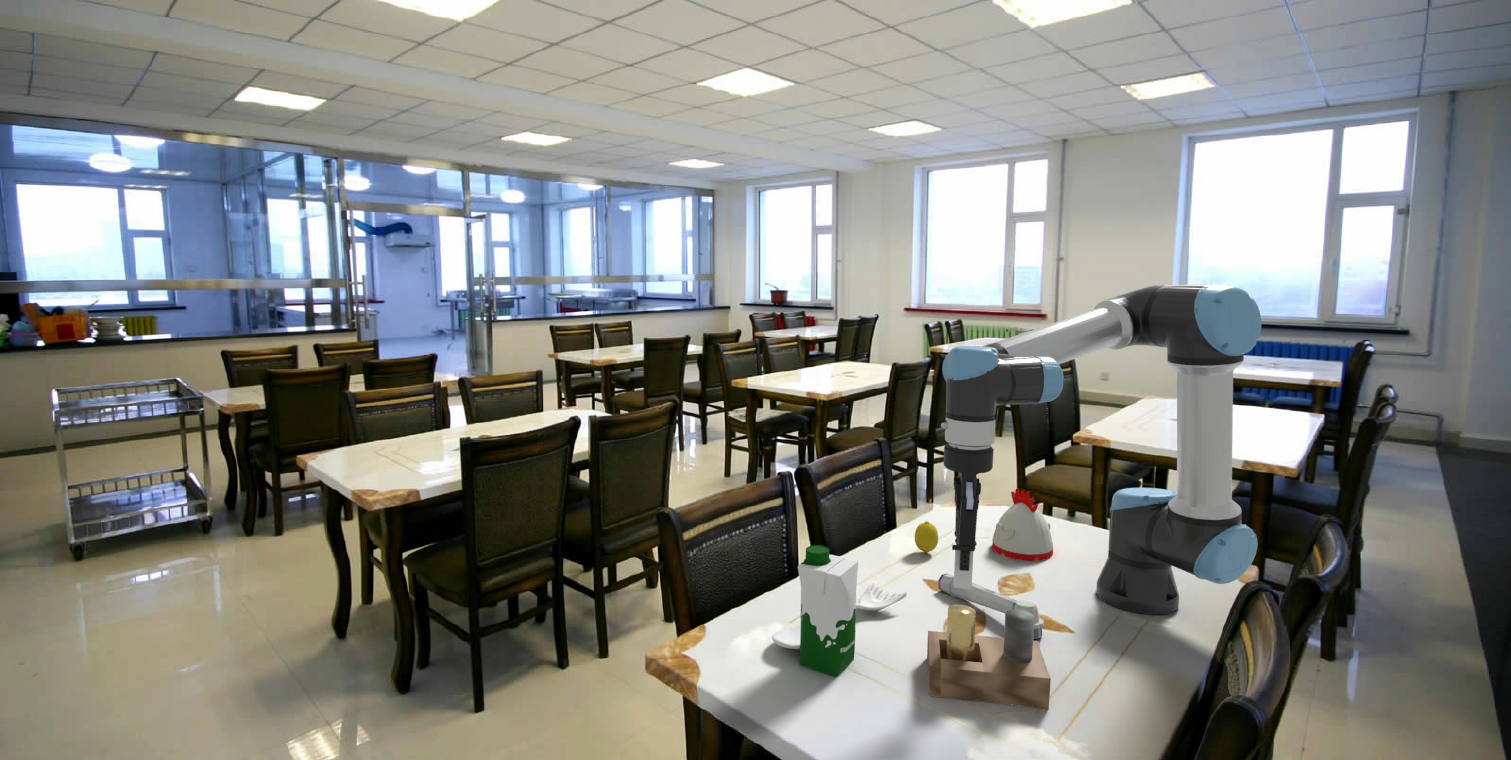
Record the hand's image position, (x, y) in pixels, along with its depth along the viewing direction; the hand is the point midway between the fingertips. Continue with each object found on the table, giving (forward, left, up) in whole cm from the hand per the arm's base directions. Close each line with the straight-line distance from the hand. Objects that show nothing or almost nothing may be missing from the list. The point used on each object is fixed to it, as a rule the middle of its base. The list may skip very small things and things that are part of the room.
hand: (962, 586), depth 120 cm
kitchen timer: (-19, -63, -17) cm, 68 cm away
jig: (-4, 0, -16) cm, 17 cm away
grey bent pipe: (-7, -26, -17) cm, 32 cm away
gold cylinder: (0, 0, -16) cm, 16 cm away
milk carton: (+22, -1, -16) cm, 27 cm away
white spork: (+21, -14, -16) cm, 30 cm away
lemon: (+4, -56, -16) cm, 58 cm away
